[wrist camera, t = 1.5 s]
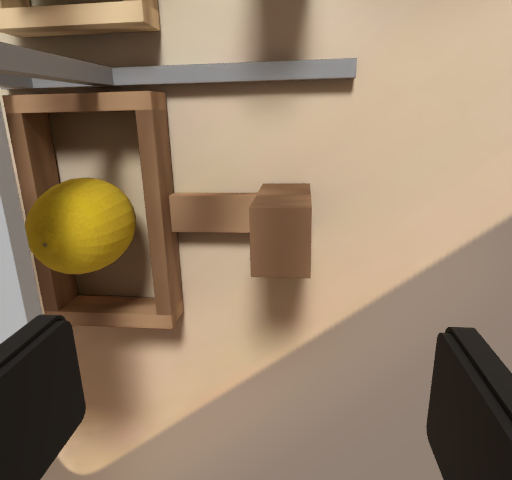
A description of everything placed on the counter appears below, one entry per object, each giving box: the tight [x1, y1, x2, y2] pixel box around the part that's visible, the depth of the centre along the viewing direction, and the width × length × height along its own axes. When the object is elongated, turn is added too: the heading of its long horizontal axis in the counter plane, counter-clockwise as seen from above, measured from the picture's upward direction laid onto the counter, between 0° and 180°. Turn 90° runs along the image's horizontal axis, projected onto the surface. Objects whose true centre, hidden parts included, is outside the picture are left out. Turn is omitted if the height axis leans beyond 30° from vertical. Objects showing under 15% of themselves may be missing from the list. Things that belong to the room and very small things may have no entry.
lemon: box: [25, 178, 136, 274], centre depth 25 cm, size 6×6×8 cm
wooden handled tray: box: [2, 91, 312, 329], centre depth 24 cm, size 18×15×7 cm
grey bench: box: [0, 42, 357, 344], centre depth 22 cm, size 22×15×12 cm
